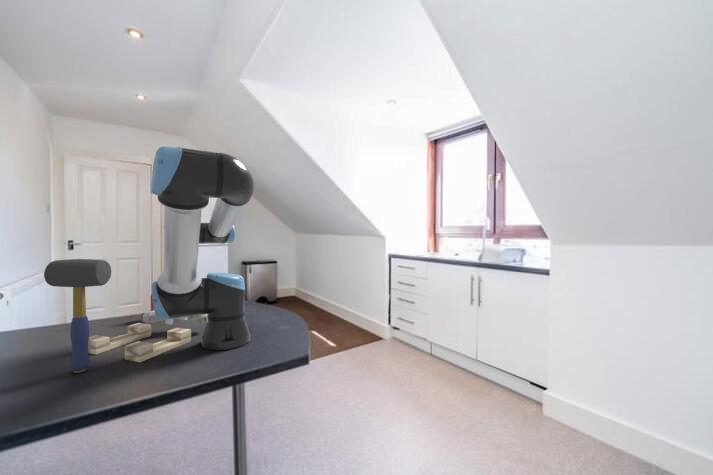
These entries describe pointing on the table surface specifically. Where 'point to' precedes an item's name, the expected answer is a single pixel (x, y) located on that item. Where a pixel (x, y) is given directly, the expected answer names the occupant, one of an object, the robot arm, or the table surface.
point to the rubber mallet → (78, 299)
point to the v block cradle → (139, 349)
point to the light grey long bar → (153, 318)
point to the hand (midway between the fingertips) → (176, 321)
